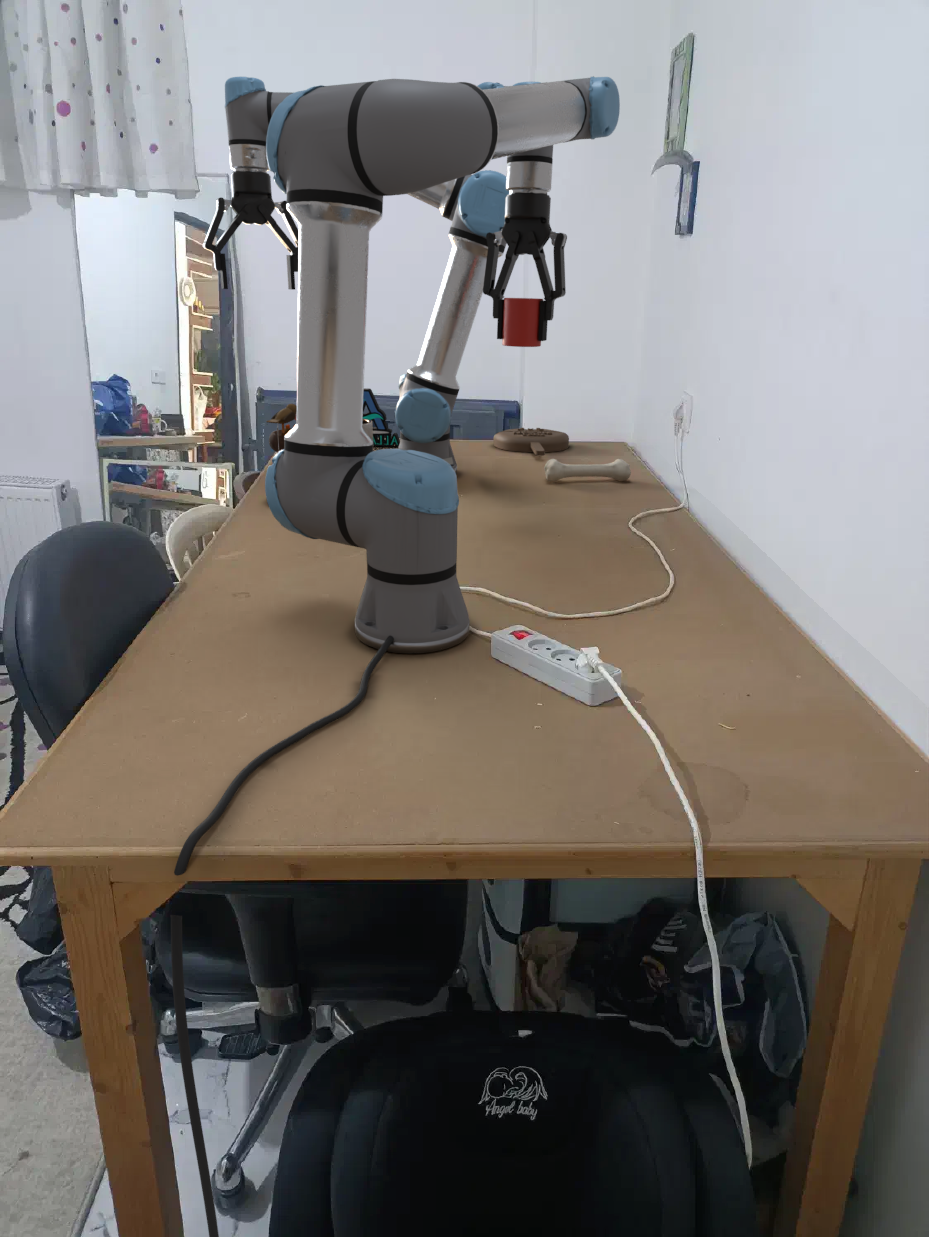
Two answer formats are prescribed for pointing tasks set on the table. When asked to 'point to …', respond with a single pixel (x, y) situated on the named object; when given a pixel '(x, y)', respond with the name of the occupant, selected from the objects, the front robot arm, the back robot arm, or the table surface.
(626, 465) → the dog toy
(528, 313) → the canister
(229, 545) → the table surface
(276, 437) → the music box
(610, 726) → the table surface
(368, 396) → the decorative sign
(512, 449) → the ice cream bar
